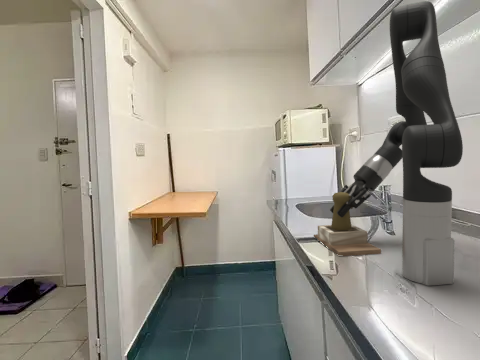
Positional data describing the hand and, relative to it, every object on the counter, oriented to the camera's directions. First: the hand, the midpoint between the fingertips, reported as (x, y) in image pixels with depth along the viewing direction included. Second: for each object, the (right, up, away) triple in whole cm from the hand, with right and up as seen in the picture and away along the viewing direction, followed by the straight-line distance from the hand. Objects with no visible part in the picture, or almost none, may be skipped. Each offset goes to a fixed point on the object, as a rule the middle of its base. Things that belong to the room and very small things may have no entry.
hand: (335, 213), depth 101 cm
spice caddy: (+2, -9, -1) cm, 10 cm away
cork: (+2, -5, +1) cm, 5 cm away
